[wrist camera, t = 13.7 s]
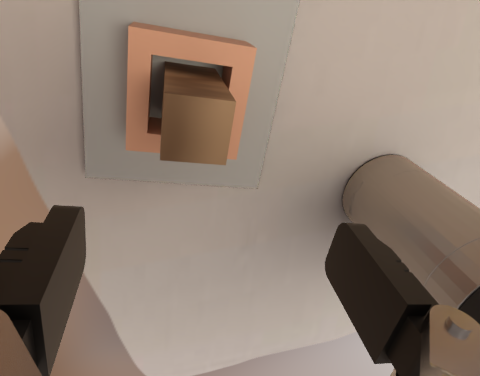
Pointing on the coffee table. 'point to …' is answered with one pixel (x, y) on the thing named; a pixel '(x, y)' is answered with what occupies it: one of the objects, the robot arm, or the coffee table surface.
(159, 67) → the socket block
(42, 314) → the robot arm
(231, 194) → the coffee table surface
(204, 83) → the walnut peg
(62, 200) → the coffee table surface
